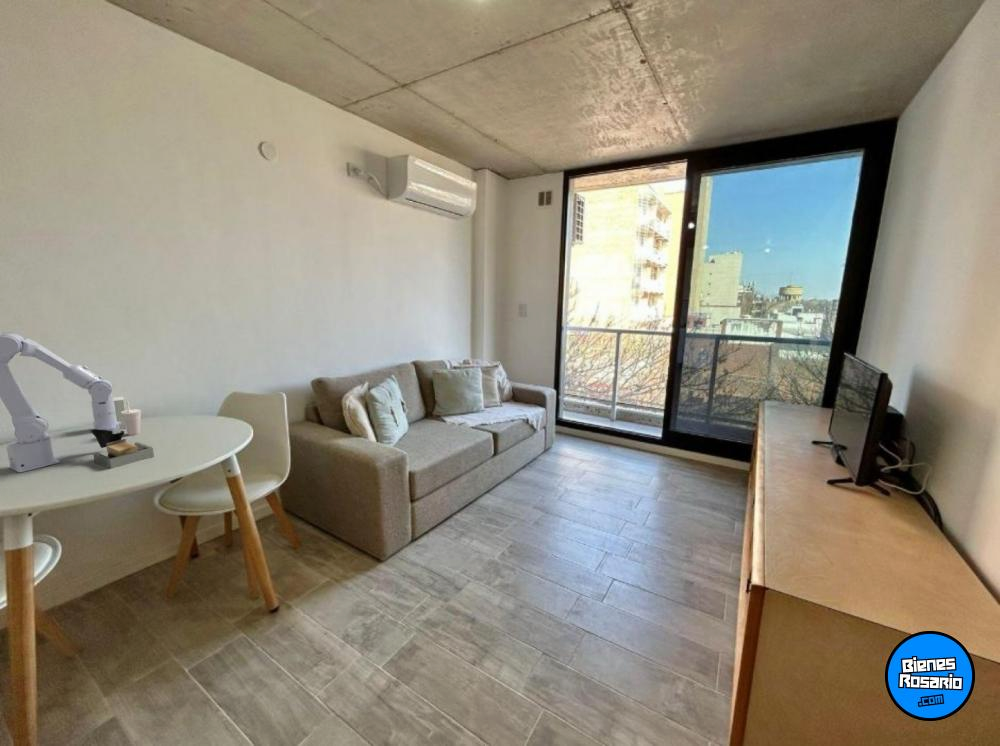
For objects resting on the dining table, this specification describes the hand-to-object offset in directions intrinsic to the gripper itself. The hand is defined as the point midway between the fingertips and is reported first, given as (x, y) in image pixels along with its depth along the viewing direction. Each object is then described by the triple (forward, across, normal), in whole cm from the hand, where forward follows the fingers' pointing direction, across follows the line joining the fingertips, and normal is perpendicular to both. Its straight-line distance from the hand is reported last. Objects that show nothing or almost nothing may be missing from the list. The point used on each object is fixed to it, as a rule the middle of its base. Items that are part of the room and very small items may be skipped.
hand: (109, 448), depth 146 cm
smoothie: (+2, +17, -14) cm, 22 cm away
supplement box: (+2, +32, -14) cm, 35 cm away
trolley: (+2, -9, 0) cm, 9 cm away
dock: (+2, -10, 0) cm, 10 cm away
